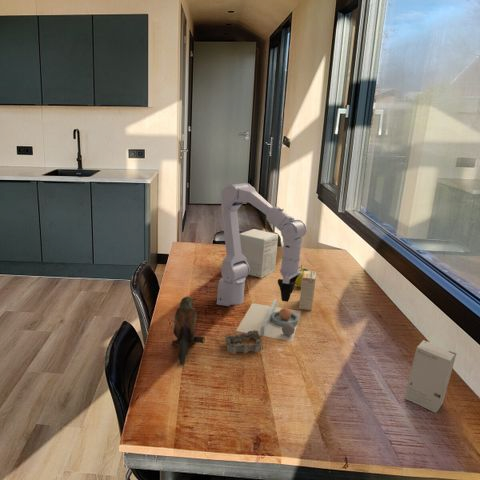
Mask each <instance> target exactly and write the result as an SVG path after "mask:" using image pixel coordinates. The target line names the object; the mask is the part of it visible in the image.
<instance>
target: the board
mask: <svg viewBox="0 0 480 480" xmlns="http://www.w3.org/2000/svg"><path fill="white" fill-rule="evenodd" d="M270 308H271V305H266V304H261V303H255V302H254V303H253V302H252V303H251V304H250V307H249V308H248V310H247V311H246V313H245V315H244V316H243V318H242V320H241V321H240V323H239V325H238V326H237V328H236V329H235V332H239V333H248V331H254V330H255V331H258V333H259V336H261V326H262V324H263V322H264V320H265V318H266V316H267V314H268V312H269V310H270ZM283 308H284V307H279V306H277V307H276V310H275V312H278V311H280V310H281V309H283ZM288 309H289V310H290V311H291V312H292V313H294V314H295V315H297V316H298V317H299V318H298V322H299V320H300V317H301V314H302V311H301V310H295V309H290V308H288ZM297 327H298V324H297V325H296V326H294V328H295V331H294V333H293V334H292V335H290V336H287V335H285V334H284V333H283V332H282V327H281V326H278V325H276V324H274V323H273V322H272V321H270V323H269V325H268V328H267V330H266V332H265V334H264V336H263V337H267V338H272V339H277V340H283V341H288V342H293V341H294V337H295V334H296V330H297ZM261 337H262V336H261Z"/></svg>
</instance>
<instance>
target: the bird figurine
mask: <svg viewBox="0 0 480 480" xmlns="http://www.w3.org/2000/svg"><path fill="white" fill-rule="evenodd" d="M197 300H198V298H195V297H191V296H184V297H183V298H182V299H181V301H180V303H179V307H177V309H176V312H175V314H174V327H173V334H174V335H175V336H174V337H175V338H176V339H175V340H174V339H173V340H171V345H172V346H177V345H178V347H179V348H178V353H177V358H178V364H179V365H181V366H184V365H185V364H186V360H187V356H188V354H189V353H188V351H189V349H190V347H191V345H192V344H195V343H198V344H199V343H200V344H205V342H206V337H205V336H197V335H196V336H195V334H196V326H197V321H198V320H197V319H198V317H197V310H196V308H195V307H193V306H192V305H193V302H195V301H197Z"/></svg>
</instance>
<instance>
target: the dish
mask: <svg viewBox="0 0 480 480" xmlns="http://www.w3.org/2000/svg"><path fill="white" fill-rule="evenodd" d="M279 312H280V311H278V312H273V314H272V316H271V321H272V322H273V323H274V324H276V325H278V326H281V327H282V326H283V325H284V324H285V323H291V324H293V326H296V325H297V326H298V325H299V321H298V318H299V317H298V316H297V315H295V314H294V313H292V312H291V317H290V318H289V319H288V320H283V319H281V318H280V315H279ZM299 319H300V318H299Z"/></svg>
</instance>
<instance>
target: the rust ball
mask: <svg viewBox="0 0 480 480" xmlns="http://www.w3.org/2000/svg"><path fill="white" fill-rule="evenodd" d="M282 308H283V309H281V310H280V312H279V315H280V318H281V319H283V320H288V319H289V318H290V317H291V311H290V310H289V309H290V308H287V307H282Z"/></svg>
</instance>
